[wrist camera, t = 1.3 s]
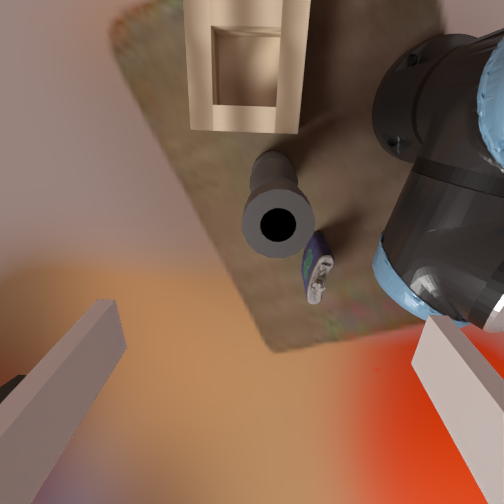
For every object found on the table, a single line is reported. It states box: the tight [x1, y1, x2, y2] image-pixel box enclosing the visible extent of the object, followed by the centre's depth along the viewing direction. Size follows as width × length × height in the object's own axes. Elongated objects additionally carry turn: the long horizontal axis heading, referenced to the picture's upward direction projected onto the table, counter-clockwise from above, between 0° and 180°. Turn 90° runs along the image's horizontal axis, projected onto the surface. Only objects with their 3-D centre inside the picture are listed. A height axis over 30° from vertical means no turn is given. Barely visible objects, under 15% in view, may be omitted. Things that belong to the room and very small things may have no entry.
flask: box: [302, 231, 334, 304], centre depth 46 cm, size 9×3×11 cm, turn 171°
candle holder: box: [242, 151, 315, 258], centre depth 33 cm, size 6×6×25 cm
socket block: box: [183, 0, 311, 134], centre depth 36 cm, size 14×14×6 cm
